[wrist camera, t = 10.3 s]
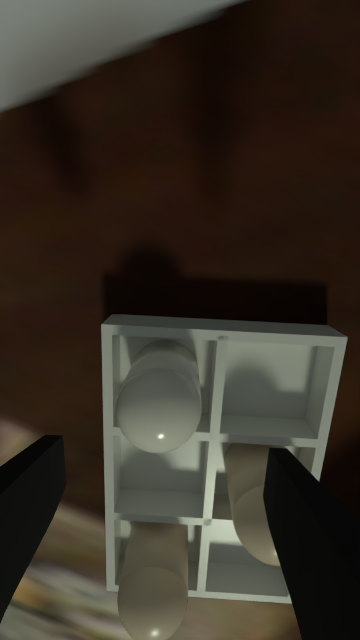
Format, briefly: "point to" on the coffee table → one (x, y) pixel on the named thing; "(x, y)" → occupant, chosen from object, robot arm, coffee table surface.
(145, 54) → the coffee table surface
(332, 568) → the robot arm
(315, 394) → the egg carton
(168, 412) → the egg
